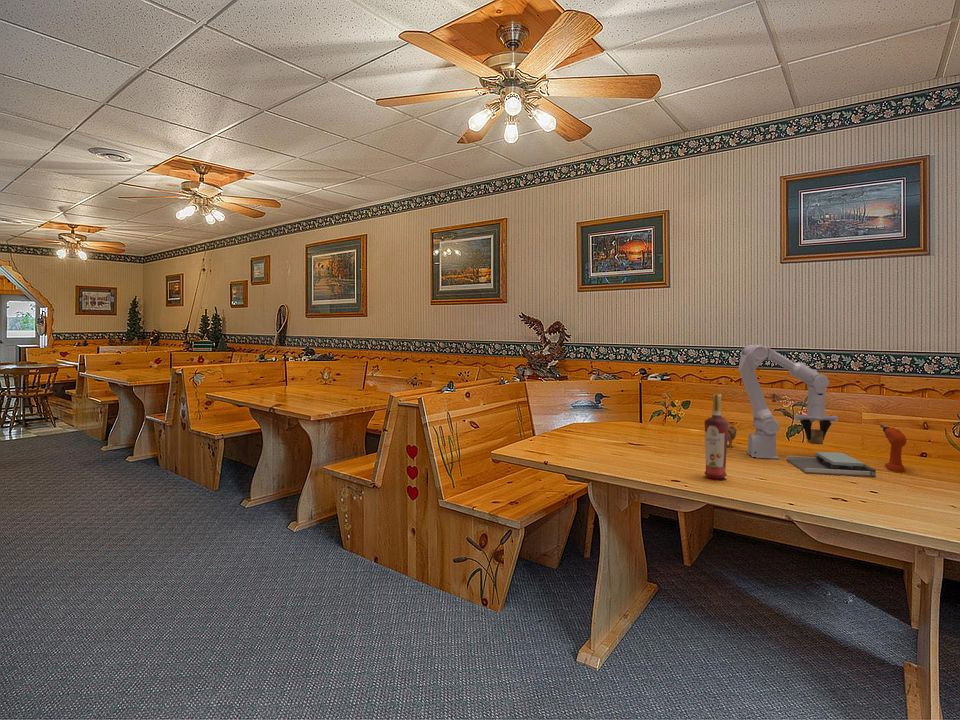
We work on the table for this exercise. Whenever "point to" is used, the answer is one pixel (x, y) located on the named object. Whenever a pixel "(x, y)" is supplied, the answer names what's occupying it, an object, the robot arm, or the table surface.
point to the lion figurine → (731, 434)
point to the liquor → (716, 442)
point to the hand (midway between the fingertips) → (815, 439)
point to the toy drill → (895, 448)
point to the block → (816, 437)
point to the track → (828, 467)
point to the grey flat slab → (839, 460)
